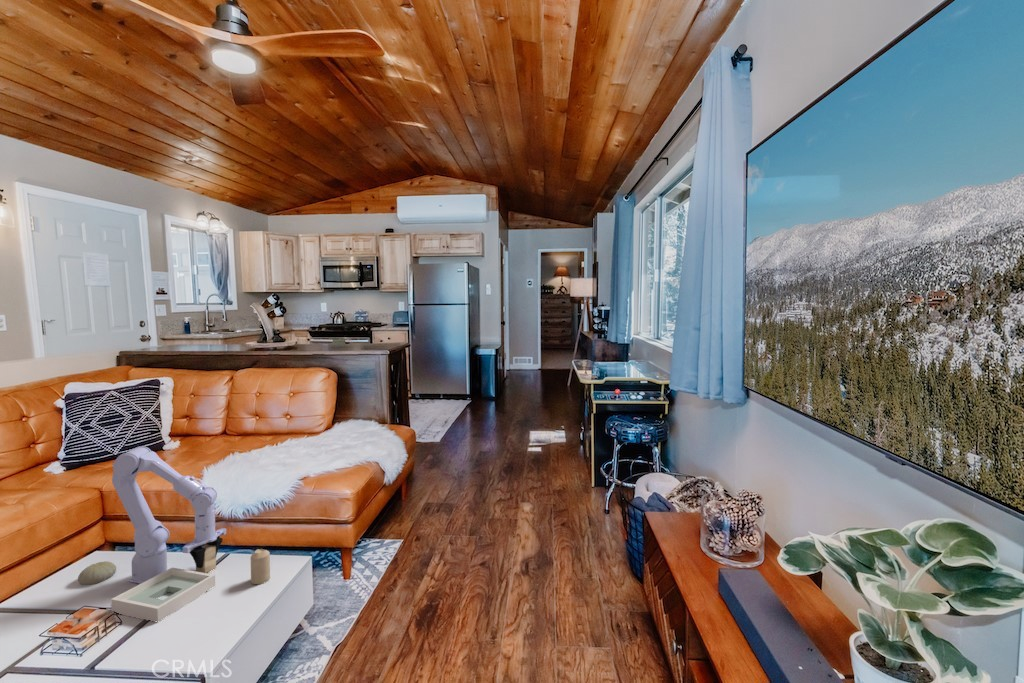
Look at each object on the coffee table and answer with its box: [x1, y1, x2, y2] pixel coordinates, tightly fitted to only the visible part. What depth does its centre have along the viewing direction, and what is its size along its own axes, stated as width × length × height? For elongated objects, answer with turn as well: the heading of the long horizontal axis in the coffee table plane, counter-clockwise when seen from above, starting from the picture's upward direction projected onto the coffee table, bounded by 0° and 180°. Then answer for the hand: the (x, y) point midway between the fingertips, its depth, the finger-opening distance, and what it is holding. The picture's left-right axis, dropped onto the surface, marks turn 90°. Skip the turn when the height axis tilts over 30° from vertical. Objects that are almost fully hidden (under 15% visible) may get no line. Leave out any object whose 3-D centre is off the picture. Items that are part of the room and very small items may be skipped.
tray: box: [110, 566, 216, 623], centre depth 136 cm, size 18×18×4 cm
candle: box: [250, 548, 271, 585], centre depth 147 cm, size 6×6×10 cm
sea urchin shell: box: [77, 561, 117, 585], centre depth 148 cm, size 9×8×8 cm
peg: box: [195, 543, 217, 574], centre depth 153 cm, size 4×4×8 cm
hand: (206, 563), depth 153 cm, fingers closed on peg, 4 cm apart
